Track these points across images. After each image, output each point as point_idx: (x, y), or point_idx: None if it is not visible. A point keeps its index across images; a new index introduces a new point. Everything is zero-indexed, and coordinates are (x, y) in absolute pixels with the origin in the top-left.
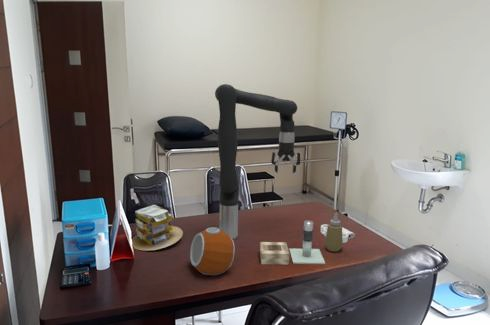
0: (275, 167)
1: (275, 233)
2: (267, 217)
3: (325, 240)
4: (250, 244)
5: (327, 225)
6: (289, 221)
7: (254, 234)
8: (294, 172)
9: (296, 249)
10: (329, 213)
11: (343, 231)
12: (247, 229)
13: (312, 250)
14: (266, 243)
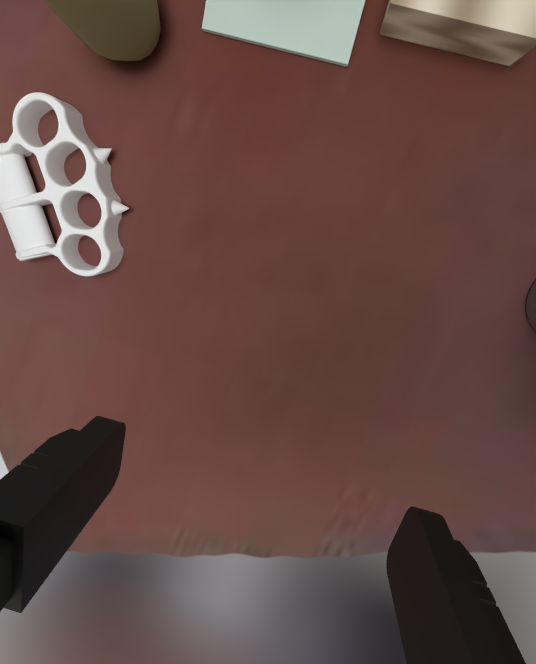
0: (499, 631)
1: (335, 279)
2: (300, 456)
3: (151, 18)
4: (512, 174)
5: (74, 267)
6: (221, 393)
7: (438, 289)
8: (96, 418)
9: (317, 43)
10: (25, 432)
11: (21, 187)
12: (446, 353)
13: (241, 14)
14: (516, 6)
